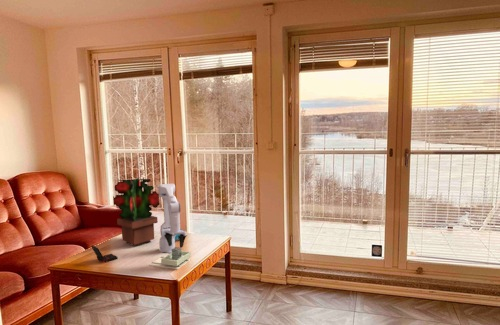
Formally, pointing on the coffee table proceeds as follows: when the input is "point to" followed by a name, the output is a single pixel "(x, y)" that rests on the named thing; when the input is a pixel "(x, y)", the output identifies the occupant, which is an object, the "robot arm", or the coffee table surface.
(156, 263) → the rail board
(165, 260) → the mint green storage bin
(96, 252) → the handheld gaming console
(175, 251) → the part block
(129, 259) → the coffee table surface
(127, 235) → the potted plant
